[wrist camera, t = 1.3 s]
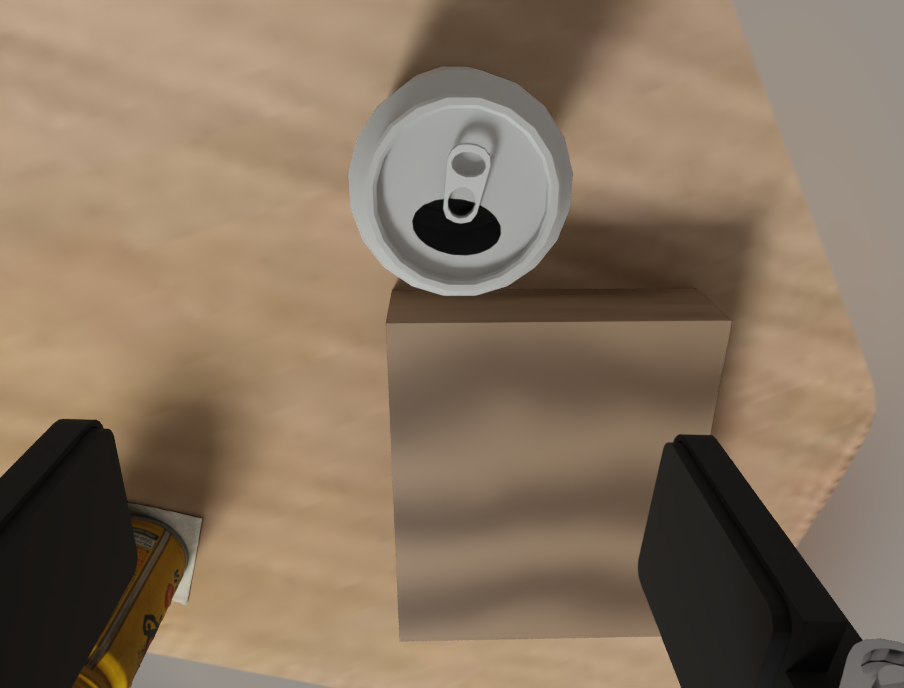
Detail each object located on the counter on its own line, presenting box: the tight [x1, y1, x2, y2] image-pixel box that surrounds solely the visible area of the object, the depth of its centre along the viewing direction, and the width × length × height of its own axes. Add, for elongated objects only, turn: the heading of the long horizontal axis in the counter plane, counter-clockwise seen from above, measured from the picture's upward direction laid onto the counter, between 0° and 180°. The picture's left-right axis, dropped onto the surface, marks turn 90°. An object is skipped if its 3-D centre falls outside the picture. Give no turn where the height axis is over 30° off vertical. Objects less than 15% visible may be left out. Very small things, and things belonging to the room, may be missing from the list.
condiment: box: [72, 502, 202, 688], centre depth 35 cm, size 7×8×12 cm
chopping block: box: [386, 288, 732, 641], centre depth 36 cm, size 20×16×5 cm
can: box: [348, 67, 573, 296], centre depth 25 cm, size 8×8×12 cm
